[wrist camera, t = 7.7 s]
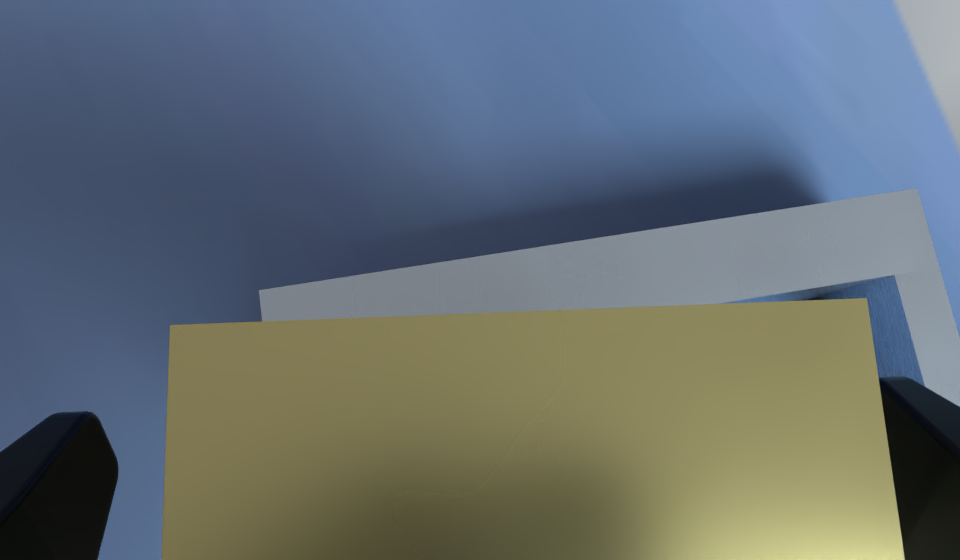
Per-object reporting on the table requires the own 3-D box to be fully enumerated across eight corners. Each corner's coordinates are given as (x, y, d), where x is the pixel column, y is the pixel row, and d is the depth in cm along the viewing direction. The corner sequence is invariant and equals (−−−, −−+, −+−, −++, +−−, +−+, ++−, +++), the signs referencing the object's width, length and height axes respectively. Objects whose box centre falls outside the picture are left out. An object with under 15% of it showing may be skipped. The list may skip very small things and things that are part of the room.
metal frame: (937, 592, 16) (1044, 633, 13) (340, 708, 15) (313, 780, 12) (840, 224, 18) (916, 188, 15) (292, 310, 17) (258, 290, 14)
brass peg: (563, 554, 16) (987, 1120, 3) (391, 563, 16) (137, 1196, 3) (553, 381, 17) (867, 298, 4) (387, 388, 17) (170, 324, 4)
